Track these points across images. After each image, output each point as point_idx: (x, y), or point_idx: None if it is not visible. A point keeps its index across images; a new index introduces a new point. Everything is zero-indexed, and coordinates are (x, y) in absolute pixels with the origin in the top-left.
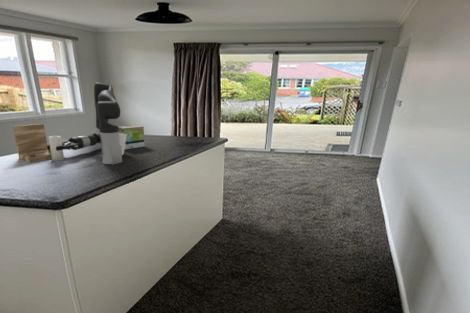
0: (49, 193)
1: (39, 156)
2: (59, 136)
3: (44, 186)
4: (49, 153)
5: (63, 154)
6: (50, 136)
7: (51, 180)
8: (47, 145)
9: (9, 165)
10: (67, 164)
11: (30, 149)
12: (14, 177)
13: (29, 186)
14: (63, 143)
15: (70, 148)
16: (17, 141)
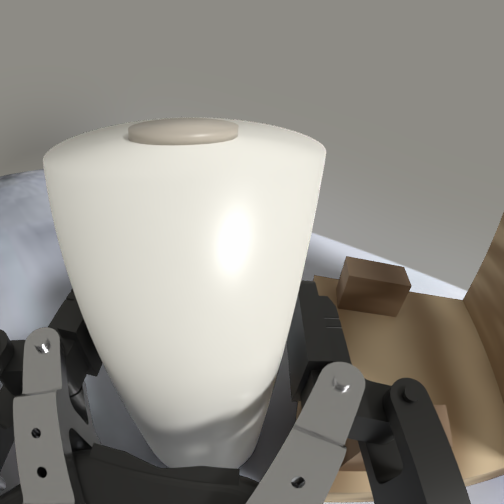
0: (15, 181)
1: None
2: (82, 155)
3: (34, 189)
4: None
5: (144, 438)
6: (290, 134)
7: (30, 205)
8: (309, 281)
9: (334, 250)
10: (32, 327)
11: (499, 333)
12: None
13: None
14: (206, 498)
15: (4, 399)
16: (502, 219)
